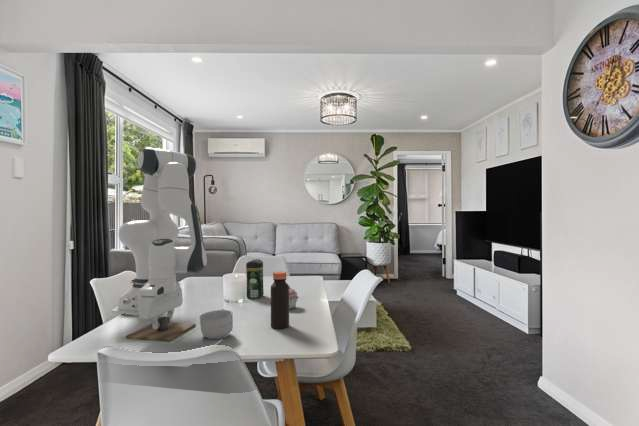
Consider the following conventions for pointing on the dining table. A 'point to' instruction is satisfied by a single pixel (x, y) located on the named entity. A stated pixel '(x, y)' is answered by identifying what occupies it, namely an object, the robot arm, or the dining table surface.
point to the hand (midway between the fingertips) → (162, 325)
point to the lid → (161, 331)
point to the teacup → (216, 324)
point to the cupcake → (292, 298)
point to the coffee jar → (254, 279)
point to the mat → (161, 341)
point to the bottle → (279, 301)
